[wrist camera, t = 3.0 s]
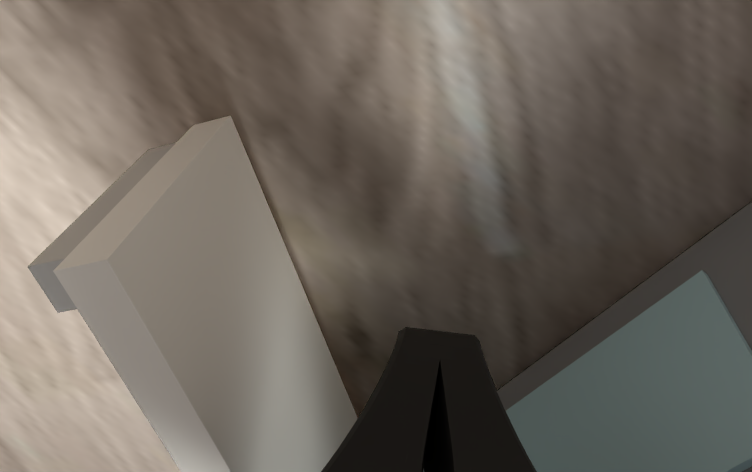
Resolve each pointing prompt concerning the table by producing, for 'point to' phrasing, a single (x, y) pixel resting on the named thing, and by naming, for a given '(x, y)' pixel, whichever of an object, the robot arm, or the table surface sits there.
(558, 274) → the table surface
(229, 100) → the table surface
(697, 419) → the camera housing
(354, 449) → the robot arm
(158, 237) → the side door
